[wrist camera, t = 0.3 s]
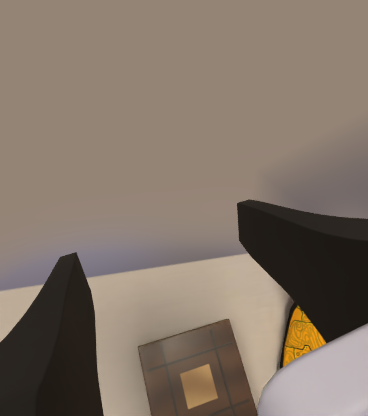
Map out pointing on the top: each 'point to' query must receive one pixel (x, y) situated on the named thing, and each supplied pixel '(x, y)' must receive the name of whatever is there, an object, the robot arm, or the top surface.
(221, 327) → the board
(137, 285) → the top surface
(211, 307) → the top surface
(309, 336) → the ornate golden shield
